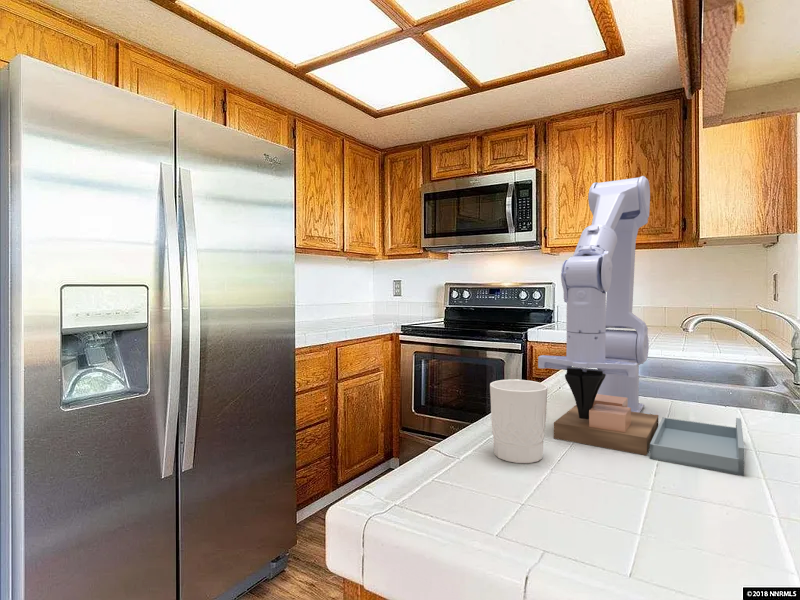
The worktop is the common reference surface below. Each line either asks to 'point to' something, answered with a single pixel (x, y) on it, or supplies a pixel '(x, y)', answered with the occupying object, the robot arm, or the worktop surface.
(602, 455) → the worktop surface
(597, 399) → the tile far
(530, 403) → the white cup
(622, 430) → the tile near
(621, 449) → the board
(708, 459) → the tray
